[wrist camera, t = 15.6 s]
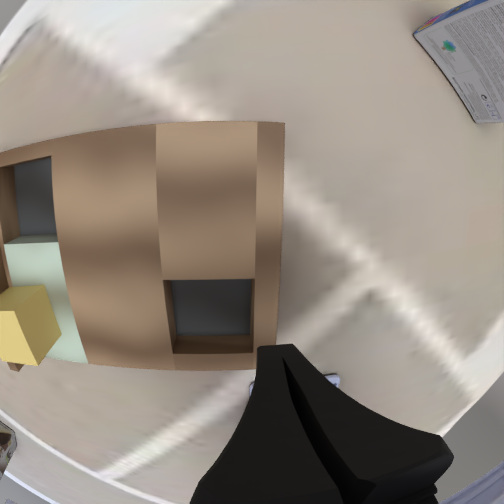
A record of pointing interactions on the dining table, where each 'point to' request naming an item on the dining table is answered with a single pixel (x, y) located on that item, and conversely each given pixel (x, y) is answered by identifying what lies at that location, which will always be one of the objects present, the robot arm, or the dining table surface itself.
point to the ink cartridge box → (471, 54)
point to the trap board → (150, 241)
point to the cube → (26, 325)
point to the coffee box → (6, 446)
